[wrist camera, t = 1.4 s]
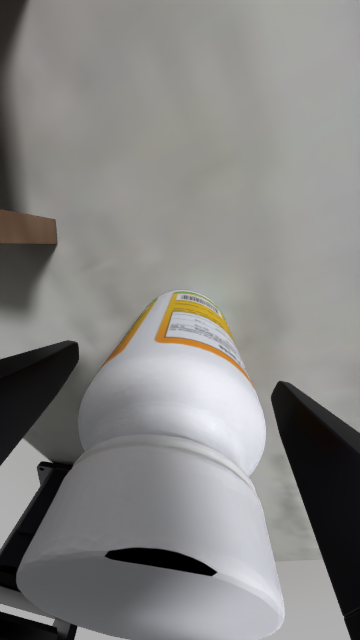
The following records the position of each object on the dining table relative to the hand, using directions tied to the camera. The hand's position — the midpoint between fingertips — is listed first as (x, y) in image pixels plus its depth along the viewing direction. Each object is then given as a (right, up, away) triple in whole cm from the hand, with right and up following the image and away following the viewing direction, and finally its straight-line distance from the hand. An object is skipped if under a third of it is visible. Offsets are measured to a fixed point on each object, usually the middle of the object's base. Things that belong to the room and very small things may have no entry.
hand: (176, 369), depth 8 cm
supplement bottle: (0, +2, +4) cm, 4 cm away
